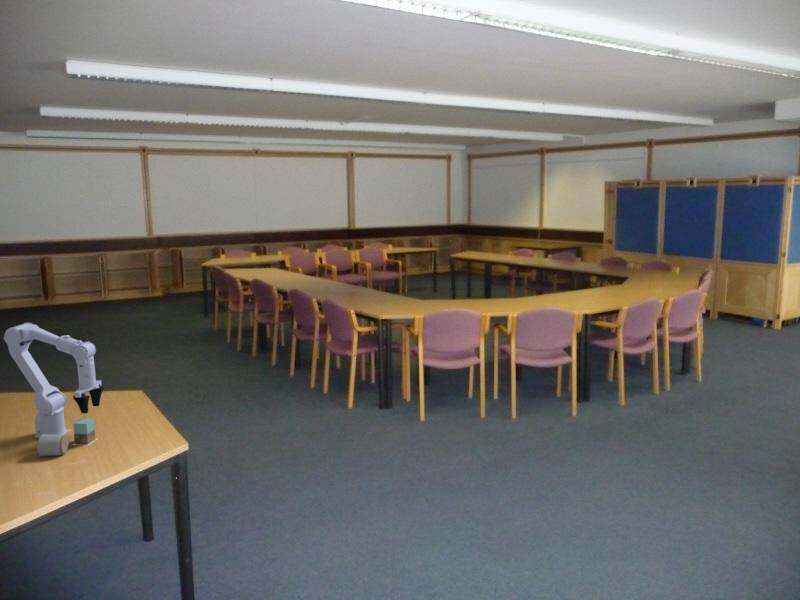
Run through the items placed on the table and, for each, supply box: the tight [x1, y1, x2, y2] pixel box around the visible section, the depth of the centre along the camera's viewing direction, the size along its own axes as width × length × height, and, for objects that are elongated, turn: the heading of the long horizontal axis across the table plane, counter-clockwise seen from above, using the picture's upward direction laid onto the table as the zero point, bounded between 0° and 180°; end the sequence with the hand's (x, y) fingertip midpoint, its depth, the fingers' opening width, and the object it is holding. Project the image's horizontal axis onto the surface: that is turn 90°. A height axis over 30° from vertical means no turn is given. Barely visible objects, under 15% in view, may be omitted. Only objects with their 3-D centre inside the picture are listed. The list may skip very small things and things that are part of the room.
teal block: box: [72, 418, 96, 435], centre depth 234 cm, size 5×5×4 cm
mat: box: [71, 437, 99, 446], centre depth 235 cm, size 10×9×1 cm
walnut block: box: [73, 429, 96, 444], centre depth 235 cm, size 5×5×4 cm
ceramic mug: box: [36, 434, 69, 458], centre depth 226 cm, size 11×8×8 cm
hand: (90, 409), depth 240 cm, fingers open, 7 cm apart
